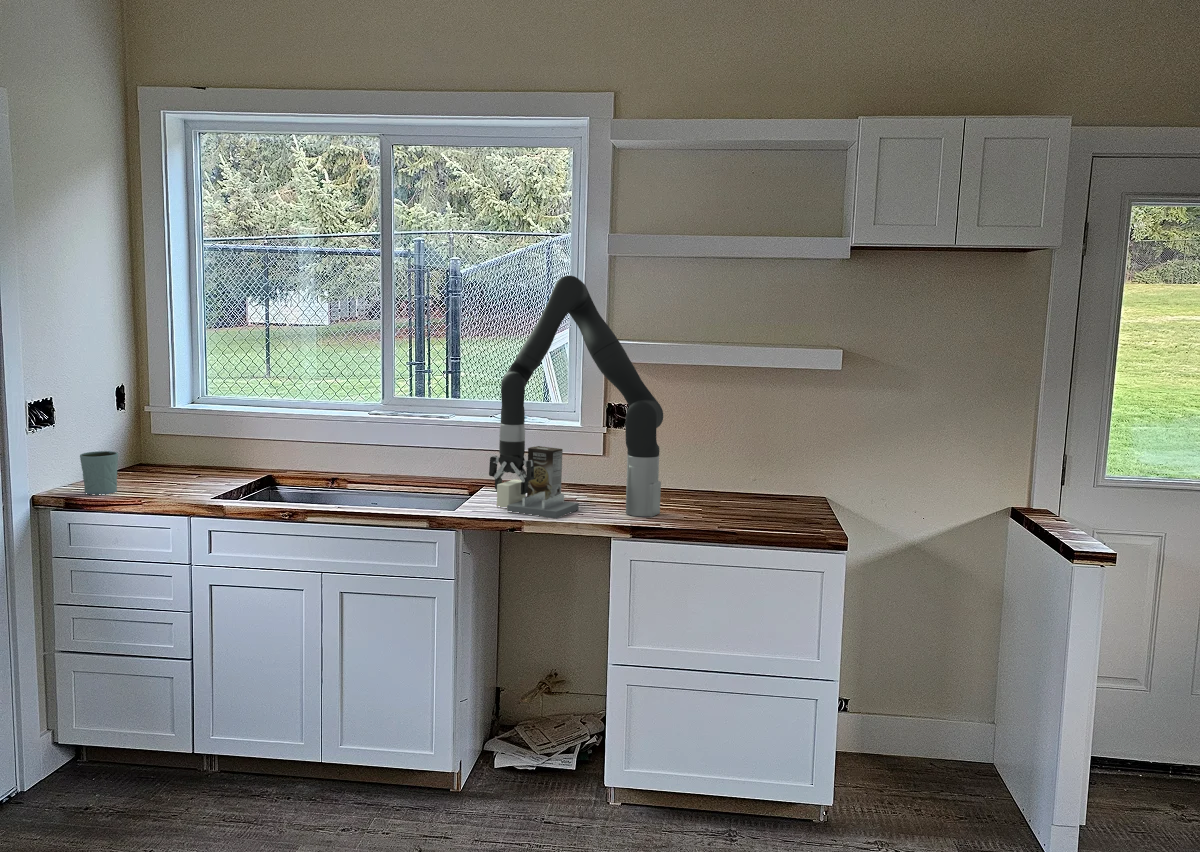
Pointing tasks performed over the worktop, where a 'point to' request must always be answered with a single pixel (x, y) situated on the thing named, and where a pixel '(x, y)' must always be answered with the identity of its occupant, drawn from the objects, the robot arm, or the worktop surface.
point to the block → (509, 493)
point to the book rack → (543, 505)
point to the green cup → (99, 472)
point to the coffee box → (545, 471)
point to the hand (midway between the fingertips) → (511, 492)
